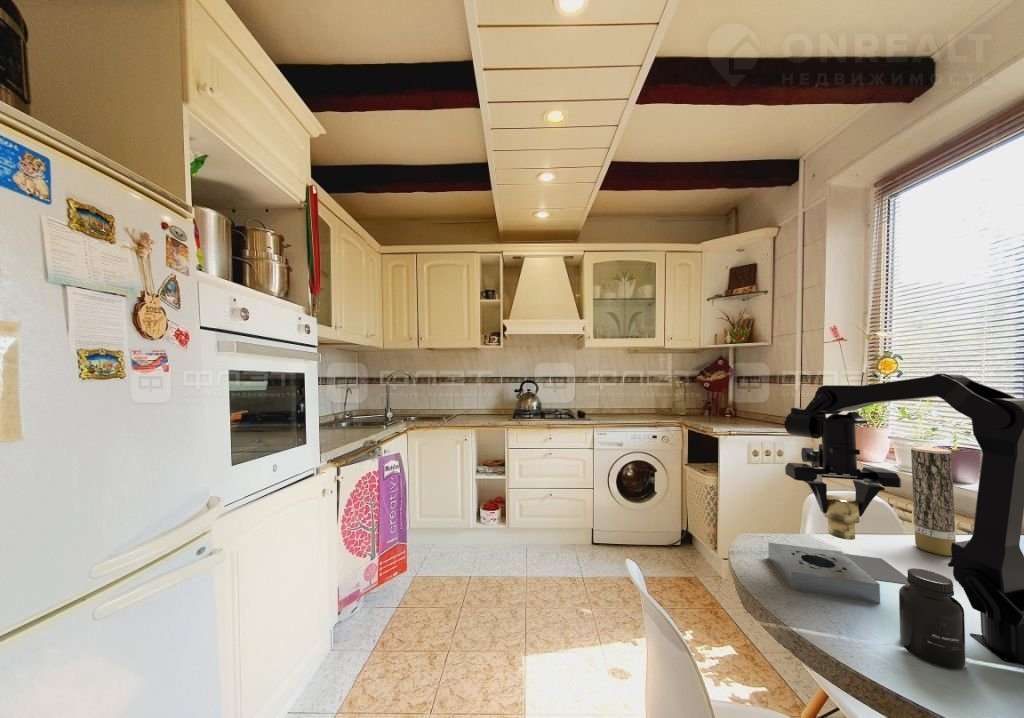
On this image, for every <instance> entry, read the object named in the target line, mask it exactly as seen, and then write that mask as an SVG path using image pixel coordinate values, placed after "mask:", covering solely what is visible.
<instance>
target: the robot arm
mask: <svg viewBox="0 0 1024 718" xmlns="http://www.w3.org/2000/svg"><path fill="white" fill-rule="evenodd" d="M928 398H930V399H931V398H939V399H941V400H943V401H944V402H945V403H947V404H948V405H949V406H950V407H951V408H953V409H954V410H955V411H957V412H958V413H960V414H962V415H963V416H966V417H967V418H969V419H971V426H972V434H973V436H974V438H975V440H976V442H977V444H978V446H979V448H980V450H981V463H980V471H979V481H978V487H977V496H976V497H977V499H976V505H975V513H974V522H973V528H972V529H973V531H972V536H971V537H970V539H969V540H962V541H956V542H955V543H952V545H951V553H952V556H951V559H950V561H949V562H948V564H947V566H948V567H949V568H952V574H953V575H952V576H953V579H954V581H956V582H957V583H959V585H960V586H961V588H962V589H963V591H964V593H965V595H966V598H967V600H968V602H969V604H970V606H971V608H972V609H973V610H974V611H975V610H976V611H978V612H979V614H980V630H981V632H980V633H981V634H977V633H973V632H972V633H971V632H970V633H969V636H970V637H971V638H973V639H974V640H975V641H977V642H978V643H979V644H981V645H982V646H983V647H984V648H986V650H988V651H990V652H991V653H992V654H994V655H995V656H996V657H997V658H999V659H1000V660H1001V661H1003V662H1006V663H1010V664H1015V665H1020V666H1024V553H1023V551H1022V549H1021V545H1020V543H1021V535H1022V528H1023V519H1024V518H1023V517H1024V398H1017V397H1015V396H1014V395H1011V394H1010V393H1009V394H1008V393H1006V392H1004V391H1002V390H1000V389H999V390H998V389H996V388H993V387H990V386H988V385H985V384H982V383H980V382H978V381H975V380H972V379H971V378H968V377H966V376H965V375H963V374H959V373H936V374H933V375H930V376H921V377H916V378H914V377H913V378H908V379H907V378H906V379H903V380H902V379H901V380H893V381H887V382H880V383H873V384H865V385H858V384H857V385H853V384H852V385H851V384H849V385H848V384H846V385H845V384H844V385H841V384H840V385H836V384H834V385H833V384H832V385H830V384H827V385H820V386H819V387H817V390H816V391H815V394H814V397H813V398H812V399H811V400H810V402H809V404H807V406H806V407H805V408H803V407H791V408H790V412H789V414H787V416H786V417H785V420H784V421H783V422H784V430H786V433H787V434H788V435H792V436H797V437H804V438H809V439H821V443H818V445H819V446H818V450H817V451H816V450H814V448H812V447H802V448H801V453H800V454H801V461H802V462H799V463H798V462H788V463H787V464H786V465H785V467H784V468H785V469H784V470H785V475H787V476H789V478H792V479H793V480H795V481H801V482H804V483H806V484H808V486H809V488H810V489H811V491H812V492H813V496H814V497H815V499H816V502H817V504H818V507H819V509H820V512H822V514H823V513H826V510H827V495H828V494H827V493H828V491H827V490H828V488H827V486H828V485H827V483H825V482H823V478H827V479H842V480H852V482H853V485H854V489H855V500H856V501H858V502H859V518H860V517H862V516H863V515H864V513H865V511H866V510H867V508H868V507H869V505H870V504H871V502H872V501H873V499H875V497H876V496H878V494H879V492H882V491H886V490H885V489H886V488H902V478H901V477H900V476H899V474H898V473H896V472H895V471H891V470H888V469H886V468H882V467H866V466H865V467H864V466H863V468H862V469H861V468H858V465H857V464H858V463H857V458H858V457H857V455H858V456H859V455H861V451H860V449H858V448H857V437H856V434H857V433H856V431H857V430H856V424H857V425H858V424H867V423H868V420H867V419H865V418H864V417H863V416H861V415H860V414H859V412H857V410H860V409H864V408H866V407H870V406H871V405H874V404H875V405H876V404H878V403H889V402H890V403H891V402H897V401H908V400H909V401H910V400H921V399H928ZM843 412H847V413H846V414H844V413H843ZM842 413H843V414H842ZM827 415H829V416H827ZM807 463H811V465H810V464H807Z"/></svg>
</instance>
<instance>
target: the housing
mask: <svg viewBox="0 0 1024 718" xmlns="http://www.w3.org/2000/svg"><path fill="white" fill-rule="evenodd" d="M767 547H768V559H769V561H771V564H773V566H774V567H775V569H776V570H777V571H778V573H779V574H780V576H781V577H782V578H783V580H784V581H785V582H786V583H787V585H788V587H789V588H790V589H791V590H792V591H794V592H795V591H796V592H802V593H803V592H804V593H809V594H815V595H822V596H827V597H835V598H840V599H841V598H842V599H847V600H855V601H861V602H867V603H868V602H869V603H874V604H878V605H881V589H880V588H881V587H880V583H879V582H877V580H874V579H873V578H872V577H871V576H869V575H868V574H867V573H866V572H865V571H863V570H862V569H861V568H860V567H859V566H858V565H856V564H855V563H854V562H853V561H852V560H851V559H849V558H848V557H847V556H846V555H845V554H846V553H843V552H842V551H841V550H840V551H839V550H832V549H826V548H816V547H815V548H814V547H808V546H807V547H806V546H800V545H791V544H784V543H783V544H782V543H776V542H768V546H767Z"/></svg>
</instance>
